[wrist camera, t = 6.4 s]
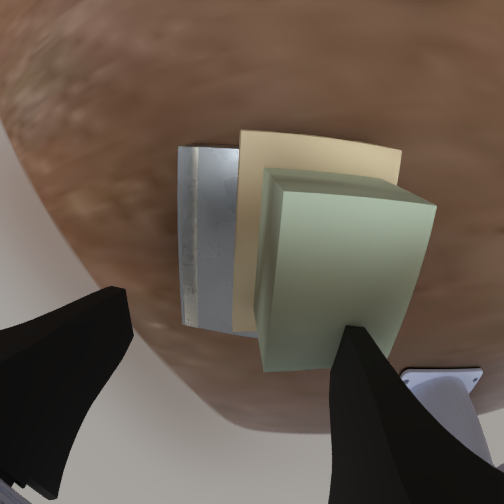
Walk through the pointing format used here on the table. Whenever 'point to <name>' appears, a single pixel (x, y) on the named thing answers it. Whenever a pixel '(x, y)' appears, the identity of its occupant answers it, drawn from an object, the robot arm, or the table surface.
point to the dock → (207, 235)
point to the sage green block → (322, 245)
